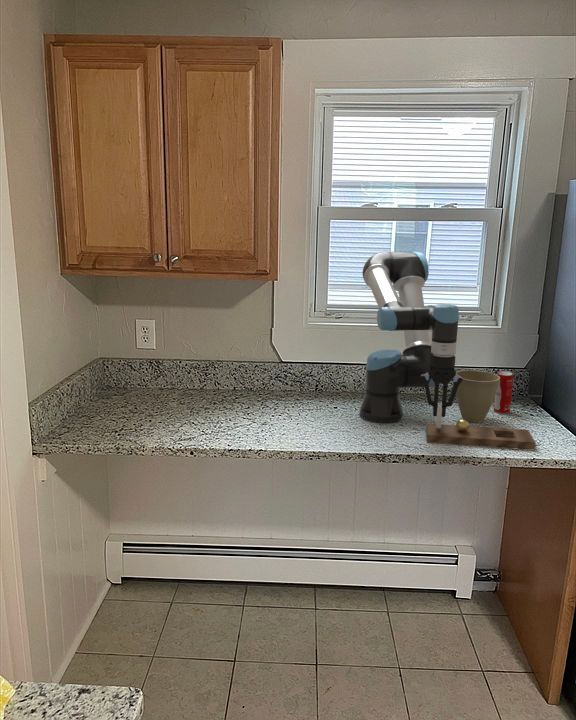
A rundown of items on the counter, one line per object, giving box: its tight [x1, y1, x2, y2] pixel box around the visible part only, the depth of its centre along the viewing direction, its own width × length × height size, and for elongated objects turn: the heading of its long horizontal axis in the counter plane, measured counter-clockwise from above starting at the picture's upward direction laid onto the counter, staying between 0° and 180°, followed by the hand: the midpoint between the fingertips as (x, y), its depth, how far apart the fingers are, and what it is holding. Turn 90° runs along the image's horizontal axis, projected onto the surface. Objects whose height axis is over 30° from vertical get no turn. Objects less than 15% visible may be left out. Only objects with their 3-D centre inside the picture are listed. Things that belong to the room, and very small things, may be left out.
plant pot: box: [456, 369, 500, 424], centre depth 201 cm, size 15×15×16 cm
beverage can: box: [493, 370, 515, 415], centre depth 209 cm, size 6×6×15 cm
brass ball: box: [455, 418, 470, 432], centre depth 184 cm, size 4×4×4 cm
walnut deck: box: [425, 422, 536, 450], centre depth 184 cm, size 32×11×2 cm, turn 79°
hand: (438, 426), depth 185 cm, fingers closed
